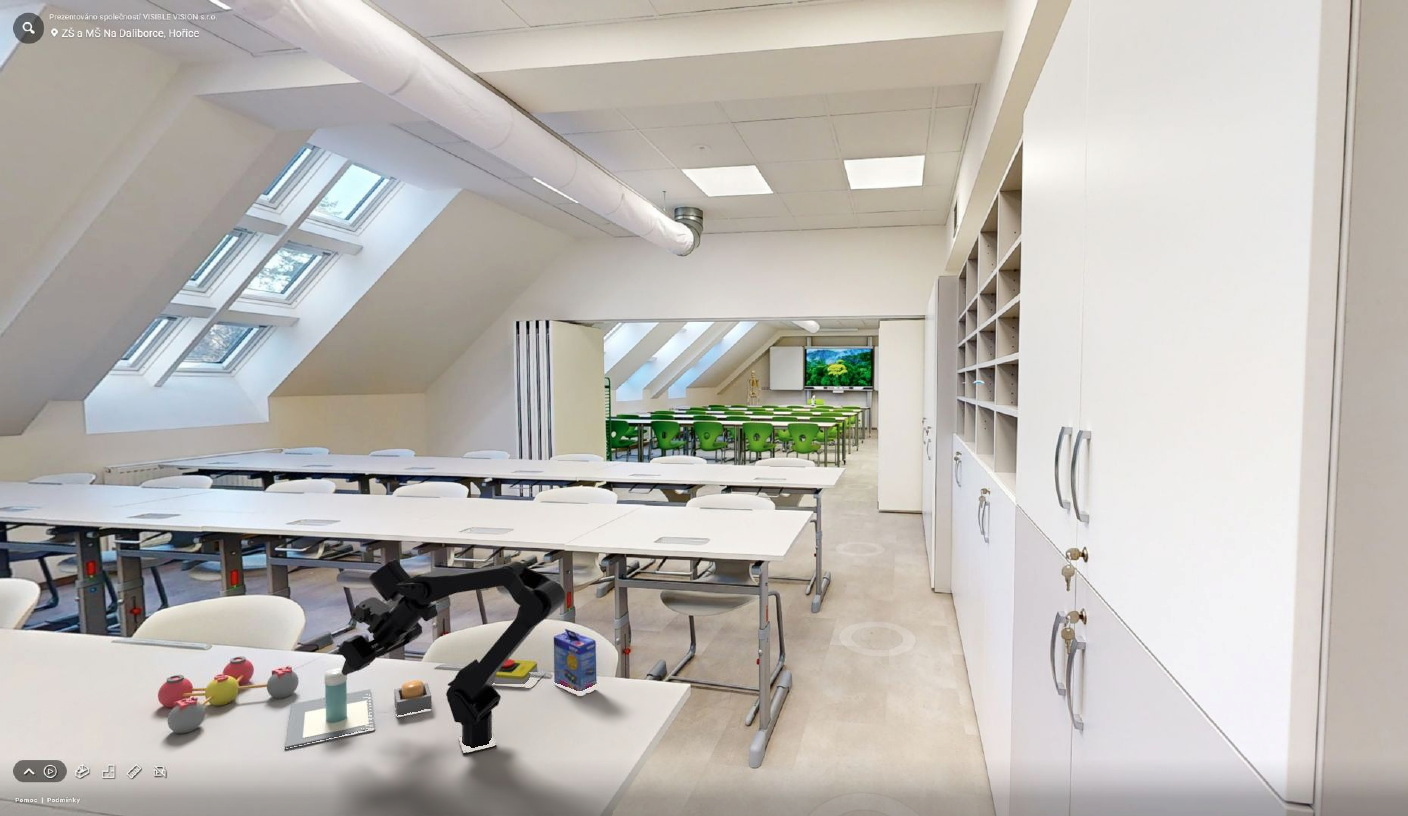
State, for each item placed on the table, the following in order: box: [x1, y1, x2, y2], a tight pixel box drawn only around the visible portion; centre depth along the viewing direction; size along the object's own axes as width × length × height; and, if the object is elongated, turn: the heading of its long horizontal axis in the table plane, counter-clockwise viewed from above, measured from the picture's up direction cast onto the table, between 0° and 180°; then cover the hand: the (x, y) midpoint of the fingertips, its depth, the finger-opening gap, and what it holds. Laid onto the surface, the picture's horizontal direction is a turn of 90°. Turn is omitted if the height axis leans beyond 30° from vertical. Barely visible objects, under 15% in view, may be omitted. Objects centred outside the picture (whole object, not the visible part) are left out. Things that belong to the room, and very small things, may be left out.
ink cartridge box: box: [553, 628, 598, 691], centre depth 162 cm, size 10×6×14 cm, turn 51°
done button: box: [401, 680, 424, 700], centre depth 152 cm, size 4×4×3 cm
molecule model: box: [157, 656, 299, 734], centre depth 154 cm, size 25×21×6 cm
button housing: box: [393, 682, 433, 717], centre depth 152 cm, size 7×7×4 cm
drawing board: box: [284, 688, 375, 750], centre depth 147 cm, size 20×16×1 cm
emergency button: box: [493, 658, 544, 684], centre depth 168 cm, size 9×4×15 cm
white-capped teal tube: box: [324, 667, 348, 723], centre depth 146 cm, size 4×4×10 cm
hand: (360, 664), depth 144 cm, fingers open, 9 cm apart
